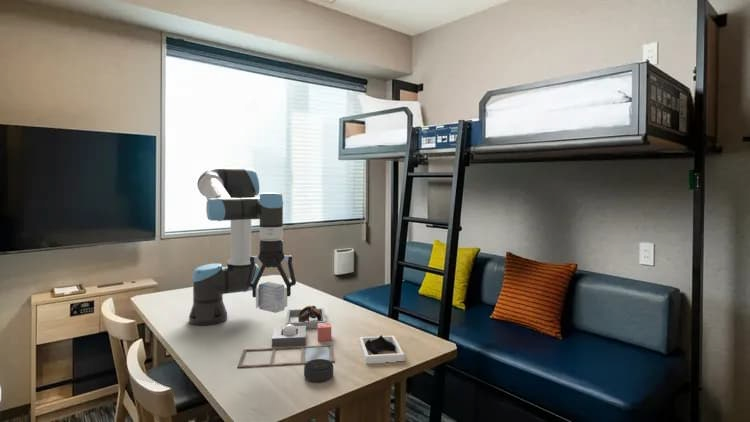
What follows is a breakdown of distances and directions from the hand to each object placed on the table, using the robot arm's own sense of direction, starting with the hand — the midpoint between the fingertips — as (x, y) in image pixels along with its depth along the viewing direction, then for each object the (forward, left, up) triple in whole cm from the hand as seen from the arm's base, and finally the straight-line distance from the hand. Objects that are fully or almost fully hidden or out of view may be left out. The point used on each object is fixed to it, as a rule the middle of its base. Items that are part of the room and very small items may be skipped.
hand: (271, 306), depth 140 cm
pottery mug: (+13, +33, -18) cm, 40 cm away
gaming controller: (+37, 0, -18) cm, 41 cm away
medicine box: (0, 0, -1) cm, 1 cm away
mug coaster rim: (+11, +35, -18) cm, 41 cm away
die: (+18, +15, -18) cm, 30 cm away
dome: (+5, +15, -17) cm, 24 cm away
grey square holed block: (+5, +15, -18) cm, 24 cm away
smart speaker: (+15, -16, -18) cm, 28 cm away
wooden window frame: (+5, 0, -18) cm, 18 cm away
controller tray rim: (+37, -1, -18) cm, 41 cm away
